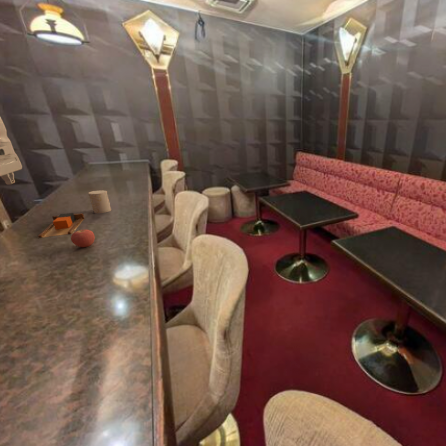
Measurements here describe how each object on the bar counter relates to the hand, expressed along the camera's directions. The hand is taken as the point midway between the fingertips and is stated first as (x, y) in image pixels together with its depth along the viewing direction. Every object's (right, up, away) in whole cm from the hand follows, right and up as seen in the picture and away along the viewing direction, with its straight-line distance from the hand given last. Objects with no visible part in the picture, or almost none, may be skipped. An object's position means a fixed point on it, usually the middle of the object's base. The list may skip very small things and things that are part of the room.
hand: (10, 183), depth 103 cm
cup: (+6, -10, +41) cm, 43 cm away
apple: (+31, -27, +1) cm, 41 cm away
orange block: (+5, -18, +18) cm, 26 cm away
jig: (+6, -19, +17) cm, 27 cm away
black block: (+2, -16, +23) cm, 28 cm away
